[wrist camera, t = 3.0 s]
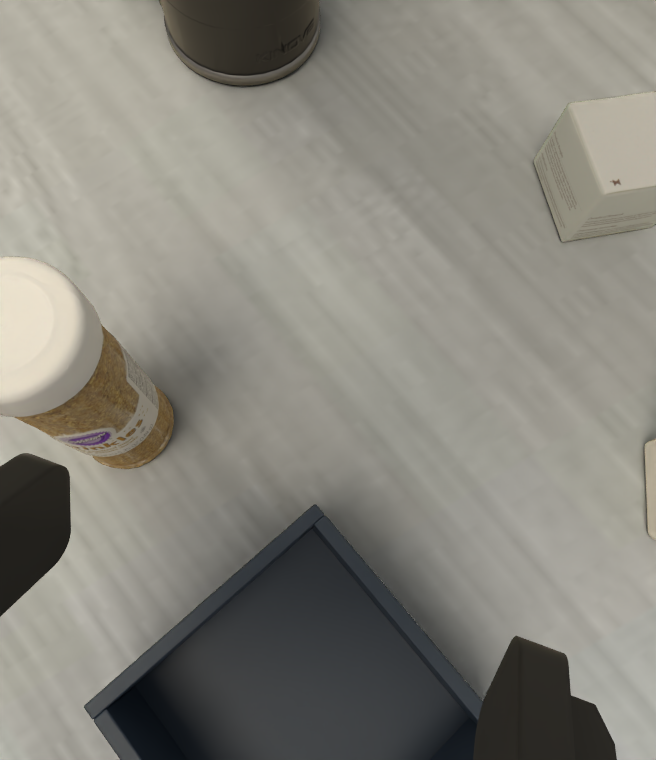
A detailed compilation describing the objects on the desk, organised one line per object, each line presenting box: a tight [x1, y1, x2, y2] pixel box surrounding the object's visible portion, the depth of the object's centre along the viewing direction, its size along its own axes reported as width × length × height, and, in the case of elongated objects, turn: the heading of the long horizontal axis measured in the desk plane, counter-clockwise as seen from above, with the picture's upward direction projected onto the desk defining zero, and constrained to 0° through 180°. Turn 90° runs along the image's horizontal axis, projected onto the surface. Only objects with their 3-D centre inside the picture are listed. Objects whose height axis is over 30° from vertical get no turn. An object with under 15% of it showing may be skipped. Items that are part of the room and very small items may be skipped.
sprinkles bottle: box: [0, 257, 174, 469], centre depth 23 cm, size 5×5×13 cm
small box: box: [534, 91, 656, 242], centre depth 32 cm, size 6×6×5 cm
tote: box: [84, 504, 483, 760], centre depth 24 cm, size 12×11×5 cm
